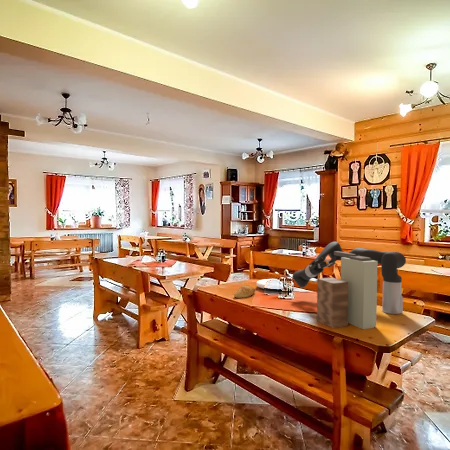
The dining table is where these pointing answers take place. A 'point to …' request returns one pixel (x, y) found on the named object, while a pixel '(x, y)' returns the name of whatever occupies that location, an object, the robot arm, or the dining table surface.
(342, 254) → the spatula
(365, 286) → the tall pale grey box
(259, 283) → the plate
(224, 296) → the dining table surface
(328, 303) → the wood grain box
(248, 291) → the tan rounded lump
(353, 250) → the robot arm
